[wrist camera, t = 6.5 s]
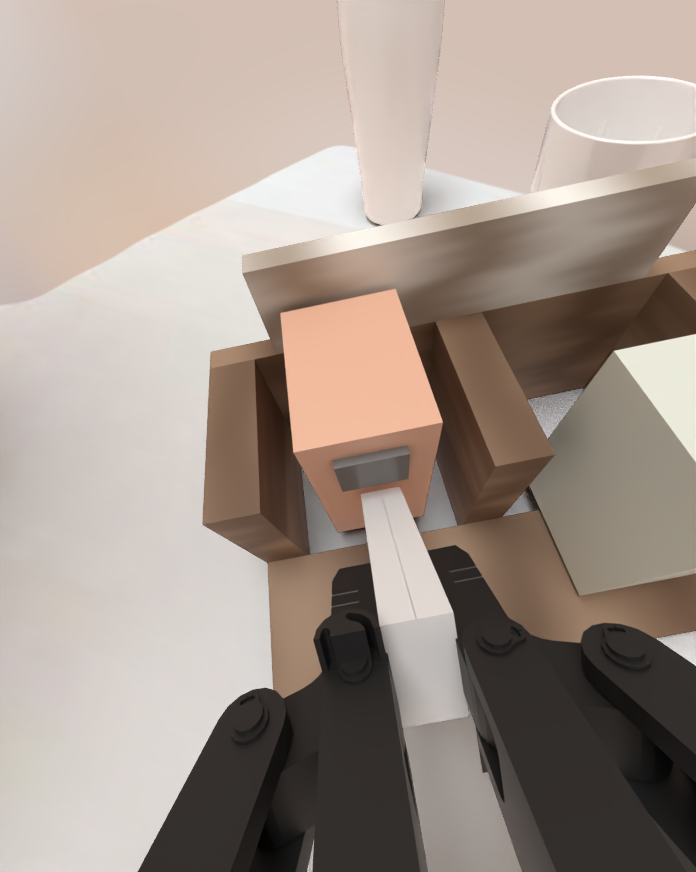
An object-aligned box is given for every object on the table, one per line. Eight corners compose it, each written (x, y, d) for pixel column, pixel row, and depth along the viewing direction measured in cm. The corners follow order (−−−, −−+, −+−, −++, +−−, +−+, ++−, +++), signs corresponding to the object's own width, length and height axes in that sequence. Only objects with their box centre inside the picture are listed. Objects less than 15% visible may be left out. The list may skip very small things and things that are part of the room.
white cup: (608, 243, 28) (701, 69, 20) (626, 313, 25) (751, 137, 16) (502, 243, 30) (545, 82, 21) (505, 310, 26) (558, 147, 17)
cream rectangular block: (582, 603, 15) (772, 566, 8) (523, 471, 19) (614, 351, 11) (685, 584, 15) (984, 526, 7) (607, 454, 18) (760, 321, 11)
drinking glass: (342, 218, 34) (309, -36, 21) (389, 185, 36) (384, -67, 23) (396, 242, 31) (396, -35, 19) (444, 205, 33) (473, -69, 20)
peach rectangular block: (338, 538, 18) (294, 461, 10) (323, 432, 21) (280, 313, 13) (424, 521, 18) (446, 431, 10) (396, 418, 21) (395, 288, 13)
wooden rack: (280, 705, 16) (64, 827, 6) (266, 438, 23) (159, 273, 13) (777, 612, 15) (1553, 559, 5) (607, 368, 22) (785, 138, 12)
